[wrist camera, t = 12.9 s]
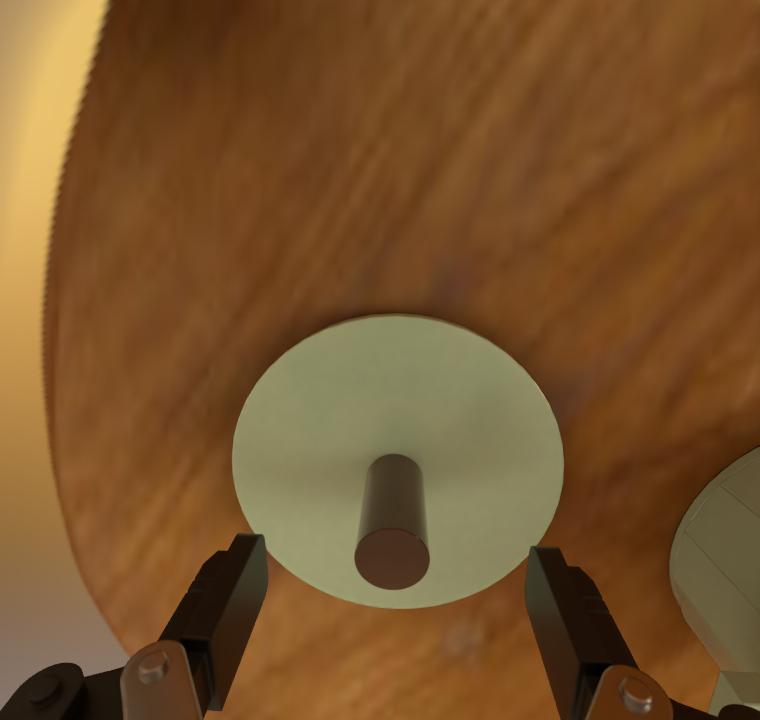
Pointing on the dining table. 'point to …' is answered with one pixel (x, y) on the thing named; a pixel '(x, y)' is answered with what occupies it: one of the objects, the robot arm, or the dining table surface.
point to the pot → (724, 578)
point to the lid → (398, 461)
